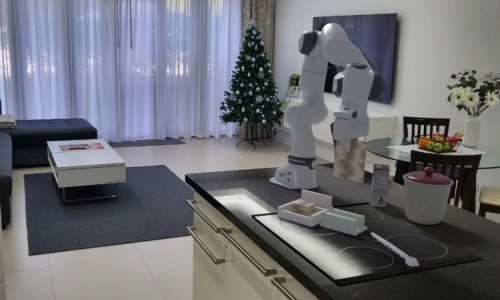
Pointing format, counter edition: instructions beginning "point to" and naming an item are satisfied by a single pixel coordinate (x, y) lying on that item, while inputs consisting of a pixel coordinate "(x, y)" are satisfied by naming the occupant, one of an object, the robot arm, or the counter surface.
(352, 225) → the holder
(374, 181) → the coffee box
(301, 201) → the offcut stack
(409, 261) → the white ladle
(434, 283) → the counter surface
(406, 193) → the canister
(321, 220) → the rack
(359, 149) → the birch panel
